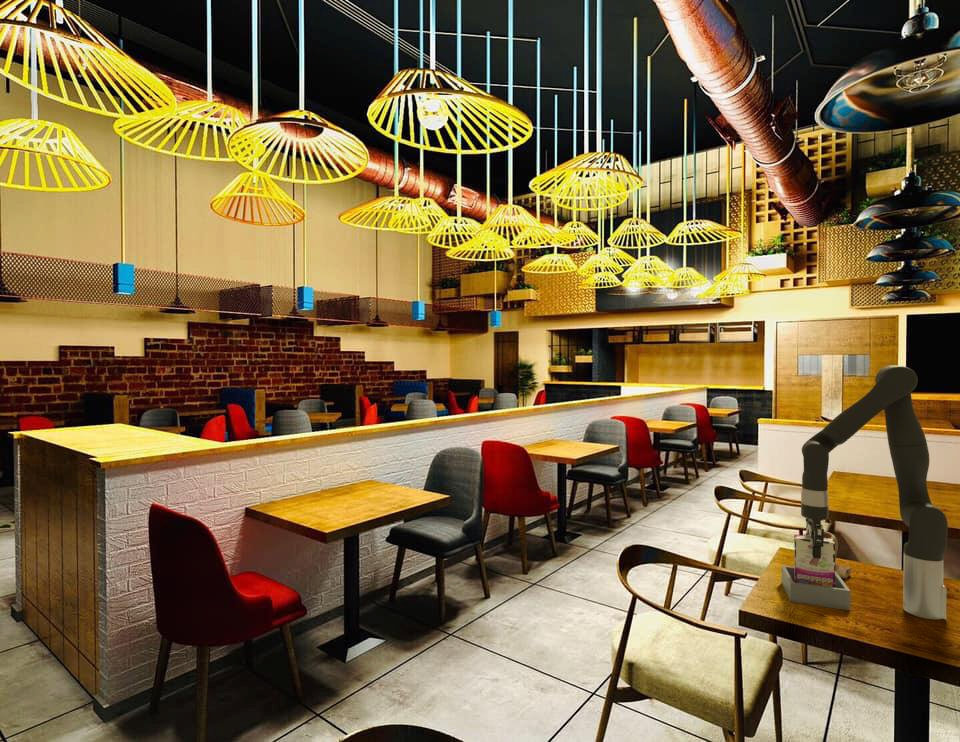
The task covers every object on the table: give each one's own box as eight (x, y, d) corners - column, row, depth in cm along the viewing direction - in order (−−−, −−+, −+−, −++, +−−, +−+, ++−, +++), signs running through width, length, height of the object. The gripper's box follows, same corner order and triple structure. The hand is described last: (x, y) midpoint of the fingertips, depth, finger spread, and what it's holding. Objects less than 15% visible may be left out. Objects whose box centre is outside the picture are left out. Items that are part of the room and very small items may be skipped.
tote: (836, 589, 177) (836, 571, 177) (850, 610, 162) (850, 590, 162) (781, 582, 183) (781, 565, 183) (790, 602, 168) (790, 583, 168)
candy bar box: (833, 588, 172) (834, 538, 172) (835, 594, 168) (835, 543, 167) (793, 582, 177) (793, 533, 177) (794, 588, 173) (794, 537, 173)
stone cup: (799, 575, 190) (799, 533, 190) (802, 565, 199) (802, 525, 199) (850, 585, 181) (851, 541, 181) (851, 574, 191) (852, 532, 190)
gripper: (834, 509, 164) (833, 564, 164) (822, 498, 178) (822, 549, 178) (806, 507, 167) (805, 561, 167) (796, 496, 180) (796, 546, 180)
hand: (814, 554), depth 172 cm, fingers closed on candy bar box, 5 cm apart
